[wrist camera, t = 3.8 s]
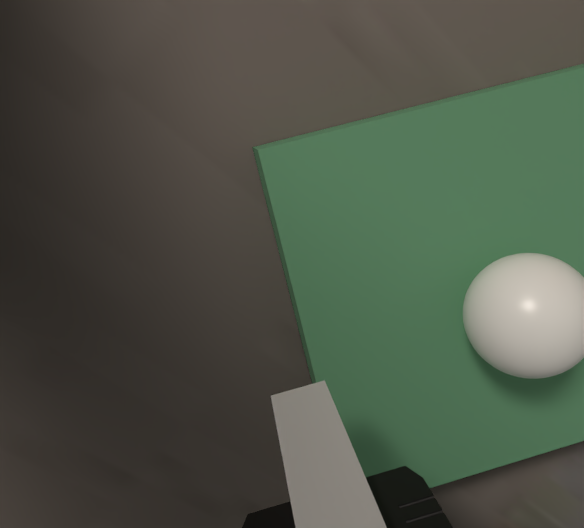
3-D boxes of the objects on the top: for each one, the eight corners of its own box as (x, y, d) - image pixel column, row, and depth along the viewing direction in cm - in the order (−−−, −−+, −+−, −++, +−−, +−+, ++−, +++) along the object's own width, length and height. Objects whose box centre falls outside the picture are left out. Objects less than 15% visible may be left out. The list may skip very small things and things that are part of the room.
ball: (452, 361, 20) (510, 418, 16) (434, 258, 18) (492, 292, 15) (554, 331, 20) (636, 380, 16) (542, 228, 19) (627, 254, 15)
